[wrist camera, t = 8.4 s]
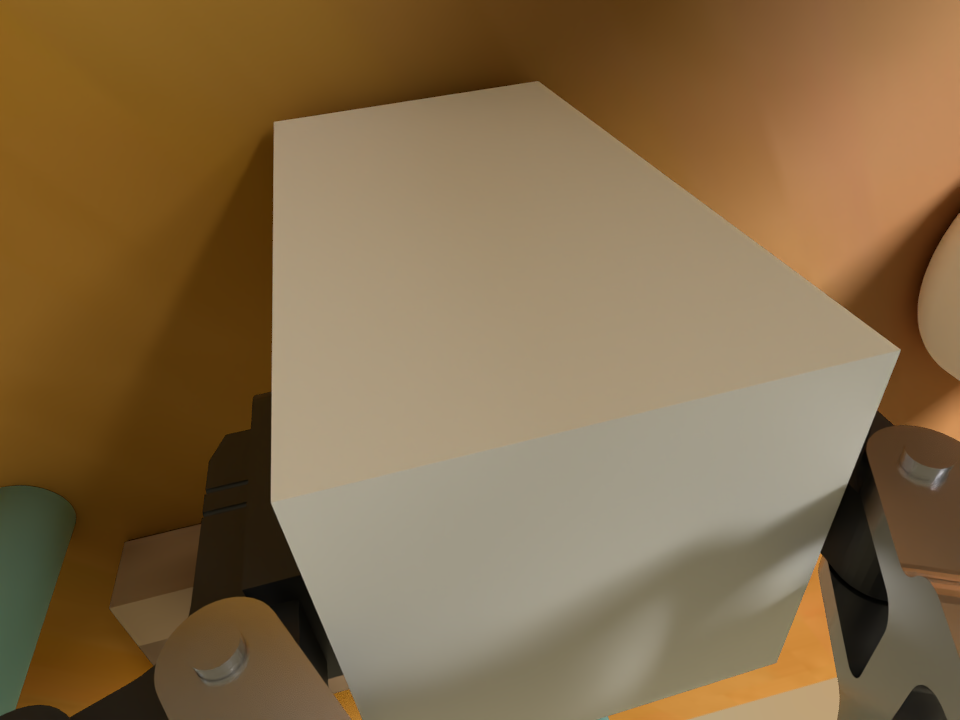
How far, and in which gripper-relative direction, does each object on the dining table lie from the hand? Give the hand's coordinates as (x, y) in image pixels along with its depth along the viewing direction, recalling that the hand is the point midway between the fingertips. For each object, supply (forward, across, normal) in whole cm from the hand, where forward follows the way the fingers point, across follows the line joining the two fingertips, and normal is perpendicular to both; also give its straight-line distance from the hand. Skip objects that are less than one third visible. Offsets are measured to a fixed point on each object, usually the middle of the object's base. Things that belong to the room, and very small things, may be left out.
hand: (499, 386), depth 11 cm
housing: (+7, 0, 0) cm, 7 cm away
